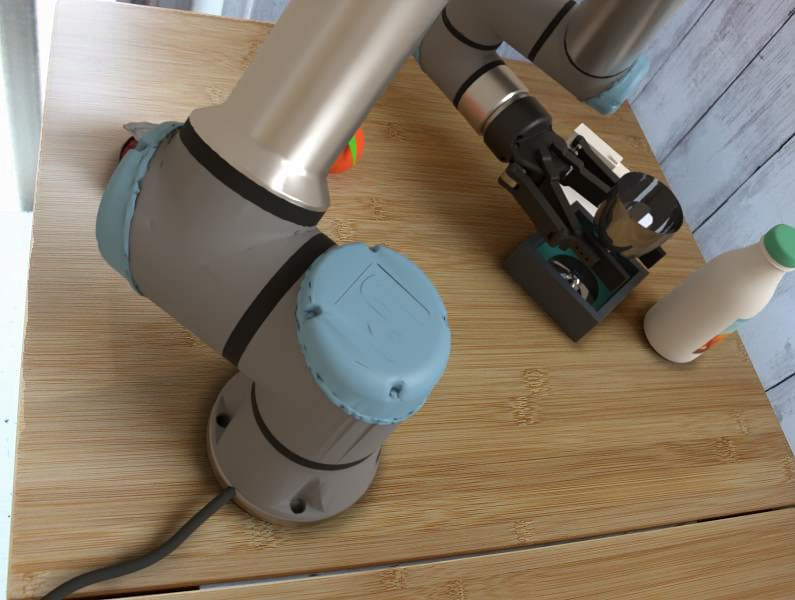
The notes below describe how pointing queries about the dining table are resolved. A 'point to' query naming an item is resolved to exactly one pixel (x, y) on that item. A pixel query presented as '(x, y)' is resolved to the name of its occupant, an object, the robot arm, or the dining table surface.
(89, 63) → the dining table surface
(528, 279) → the dark grey open box
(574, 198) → the napkin holder
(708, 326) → the milk bottle
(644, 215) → the wine glass
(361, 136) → the clementine
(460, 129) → the dining table surface
